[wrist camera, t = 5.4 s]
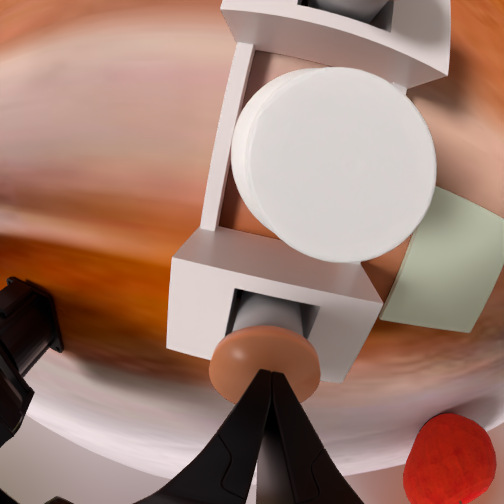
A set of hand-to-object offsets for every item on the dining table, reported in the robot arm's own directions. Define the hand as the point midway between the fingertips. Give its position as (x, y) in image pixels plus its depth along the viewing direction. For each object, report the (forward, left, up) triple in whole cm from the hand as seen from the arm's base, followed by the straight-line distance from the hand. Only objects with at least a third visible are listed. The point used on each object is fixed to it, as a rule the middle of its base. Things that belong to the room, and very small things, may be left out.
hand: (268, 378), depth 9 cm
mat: (+3, -12, -8) cm, 15 cm away
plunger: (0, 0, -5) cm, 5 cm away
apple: (-14, -22, -8) cm, 27 cm away
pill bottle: (+7, 0, -8) cm, 11 cm away
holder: (+7, 0, -8) cm, 11 cm away
